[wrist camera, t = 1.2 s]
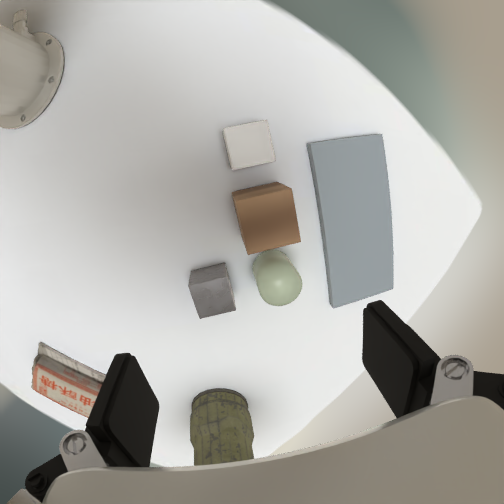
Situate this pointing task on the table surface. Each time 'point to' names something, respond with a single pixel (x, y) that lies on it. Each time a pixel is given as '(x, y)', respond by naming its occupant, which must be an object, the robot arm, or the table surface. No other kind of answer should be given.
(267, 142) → the grey plastic cube
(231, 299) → the dark metal block
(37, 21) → the table surface
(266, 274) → the sage plastic cylinder
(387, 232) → the slate board
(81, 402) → the packaged product
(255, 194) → the walnut block
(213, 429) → the thermos
